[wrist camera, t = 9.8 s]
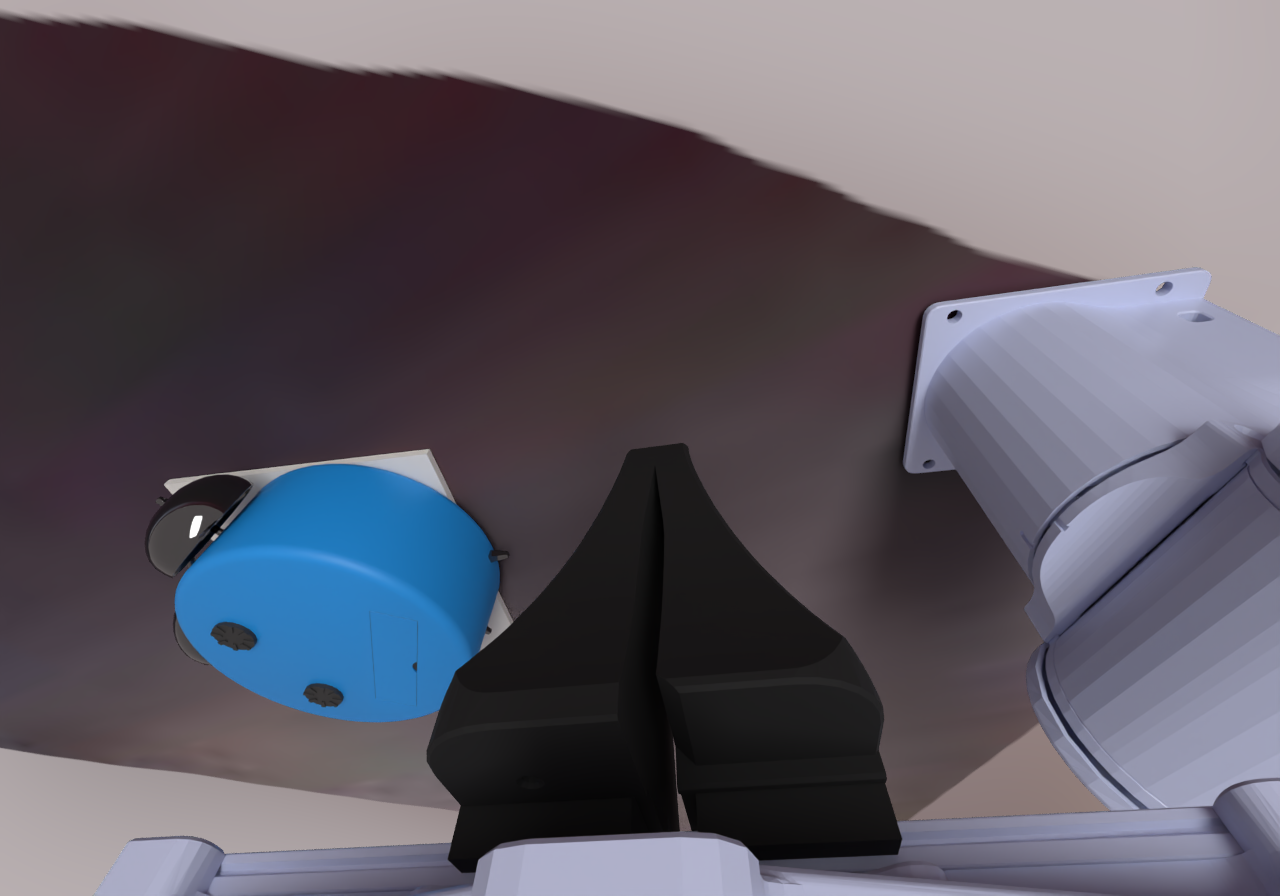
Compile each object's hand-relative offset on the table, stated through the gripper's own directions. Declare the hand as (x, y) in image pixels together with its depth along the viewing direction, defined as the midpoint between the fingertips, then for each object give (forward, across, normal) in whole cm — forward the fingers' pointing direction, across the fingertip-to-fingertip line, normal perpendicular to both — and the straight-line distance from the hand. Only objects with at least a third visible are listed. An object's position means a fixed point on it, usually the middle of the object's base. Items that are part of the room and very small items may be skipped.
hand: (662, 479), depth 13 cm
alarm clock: (+7, +11, +14) cm, 19 cm away
